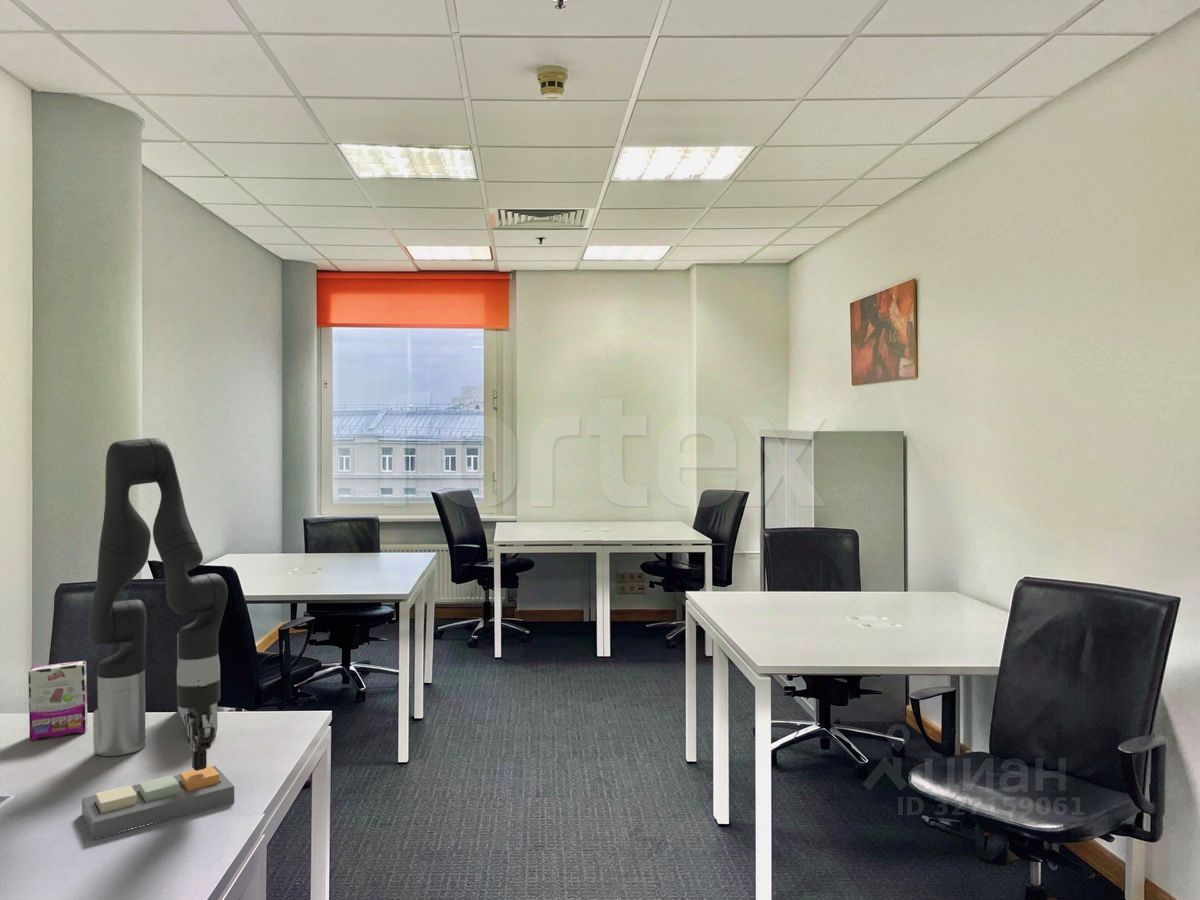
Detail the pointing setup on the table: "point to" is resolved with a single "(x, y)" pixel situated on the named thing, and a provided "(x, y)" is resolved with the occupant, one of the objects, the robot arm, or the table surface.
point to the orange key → (199, 778)
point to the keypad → (156, 807)
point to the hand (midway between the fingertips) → (199, 768)
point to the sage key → (158, 788)
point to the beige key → (116, 798)
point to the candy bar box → (57, 700)
